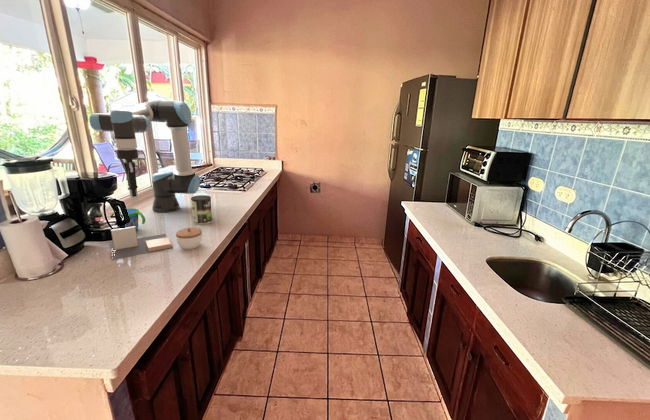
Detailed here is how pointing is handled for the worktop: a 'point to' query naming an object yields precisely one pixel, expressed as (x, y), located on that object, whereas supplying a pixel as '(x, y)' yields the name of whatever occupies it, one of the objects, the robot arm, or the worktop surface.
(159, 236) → the mat
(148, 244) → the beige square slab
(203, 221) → the coffee can
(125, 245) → the white square tile
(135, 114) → the robot arm
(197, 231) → the lidded jar
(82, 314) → the worktop surface
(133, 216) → the snack cup
